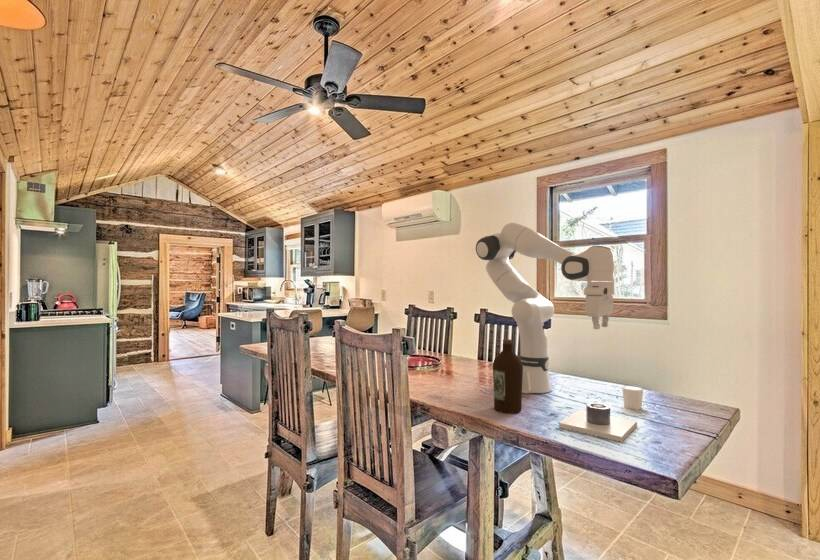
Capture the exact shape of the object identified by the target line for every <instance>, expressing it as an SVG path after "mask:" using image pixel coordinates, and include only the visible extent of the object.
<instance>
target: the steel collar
mask: <svg viewBox="0 0 820 560" xmlns="http://www.w3.org/2000/svg"><path fill="white" fill-rule="evenodd" d="M593 405H602V406H604V408H596V407H593ZM585 411H586V420H587V422H589V423H591V424H595V425H609V424H610V416H611V407H610V406H609V405H608V404H606V403H600V402H587V403H586V410H585Z"/></svg>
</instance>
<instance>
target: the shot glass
mask: <svg viewBox="0 0 820 560" xmlns="http://www.w3.org/2000/svg"><path fill="white" fill-rule="evenodd" d="M621 388H622V398H623V399H622V400H623V401H622V402H623V407H624V408H625V409H626V408H627V409H631V410H641V409H642V407H643V398H644V397H643V395H644V388H642V387H640V386H634V385H624V386H623V385H622V386H621Z"/></svg>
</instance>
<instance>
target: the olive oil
mask: <svg viewBox="0 0 820 560" xmlns="http://www.w3.org/2000/svg"><path fill="white" fill-rule="evenodd" d="M518 356H519V355H517V354H516V353H515V351H513V340H512V339H510V338H509V339H506V338H505V339H502V351H500V353H499V354H498V355H497V356H496V357H495V358H494V359H493V363H492V381H493V382H492V383H493V385H492V386H493V402H494V403H493V406H494V408H493V409H494V410H495V411H497V412H499V413H502V414H503V413H504V414H519V413H520V412H522V401H523V400H522V398H523V397H522V395H523V393H522V378H523V365H522V362H521V360H520V358H519V357H518Z"/></svg>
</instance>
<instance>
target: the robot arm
mask: <svg viewBox="0 0 820 560" xmlns="http://www.w3.org/2000/svg"><path fill="white" fill-rule="evenodd" d="M475 252H476V253H475V254H477V257H478V258H479V259H480V260H482V261H487V263H486V265H485V271H486V272H487V273H486V274H488V277H489V278H490V279H491V281H492V282H493V284H494V285H495V286H496V287H497V289H498V290H499V291H500V292H501V293H502V295H503V296H504V297H505V298H506V299H507V300H508V301H510V302H512V303H513V305H512V307H511V316H512V318H513V319H514V321H515V322H516V325H517V329H518V332H519V333H518V334H519V341H520V342H519V343H520V344H519V345H520V351H519V352H520V354H519V355H517V356H518V357H519V358H520V360H521V362H522V365H523V378H522V394H544V393H549V392H551V391H552V386H551V382H550V378H549V368H550V367H549V366H550V363H549V362H550V361H549V356H548V336H547V335H546V334H545V331H544V327H543V323H545V322H547V321H549V320H550V319H551V318H552V317H553V316H554V315H555V306H554V304H553V302H551V300H549V299H547V298H545V297H544V296H543V295H542V294H541V293H540V292H539V291H537V290H536V289H535V288H534V287H532V286H531V285H530V284H529V283H528V282H527V281H526V280H525V279H524V278H523V277H522V276H521V274H519V273H518V271H517V270H516V269H515V268H514V267H513V266H512V264H511V263H510V260H513V258H515V254H516V253H518V254H520V255H522V256H526V257H528V258H533V259H543V260H550V261H554V262H556V263H558V264H561V265H560V269H561V274H562V276H563V277H564V278H565V279H567V280H570V281H574V282H576V281H577V282H586V287H585V288H584V290H583V295H584V296H585V300H584V301H585V312H586V315H587V317H590V318H591V322H592V325H593V327H592V328H593V330H599V329H601V327H602V328H608V327H609V319H610V315H612V314H614V297H613V295H615V279H614V271H615V260H614V252H613V250H612V248H611V247H610V246H606V245H598V244H592V245H589V246H588V247H587V248H586V249H584V250H583V251H580V252H578V253H575V252H574V251H572V250H569V249H567V248H564V247H562V246H561V245H558V244H557V243H555V242H554V241H552V240H550V239H548V238H547V237H545V236H544V235H542V234H541V233H539V232H537V231H535V230H534V229H532V228H530V227H528V226H526V225H523V224H519V223H515V222H509V223H507V224H505V225H504V226H503V227H502V229H501V231H500V232H499V233H494V234H490V235H486V236H483V237H481V238H480V239H478V241H477V242H476V245H475ZM600 317H601V318H602V319H601V320H602V321H601V324H600ZM600 325H601V327H600Z"/></svg>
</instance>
